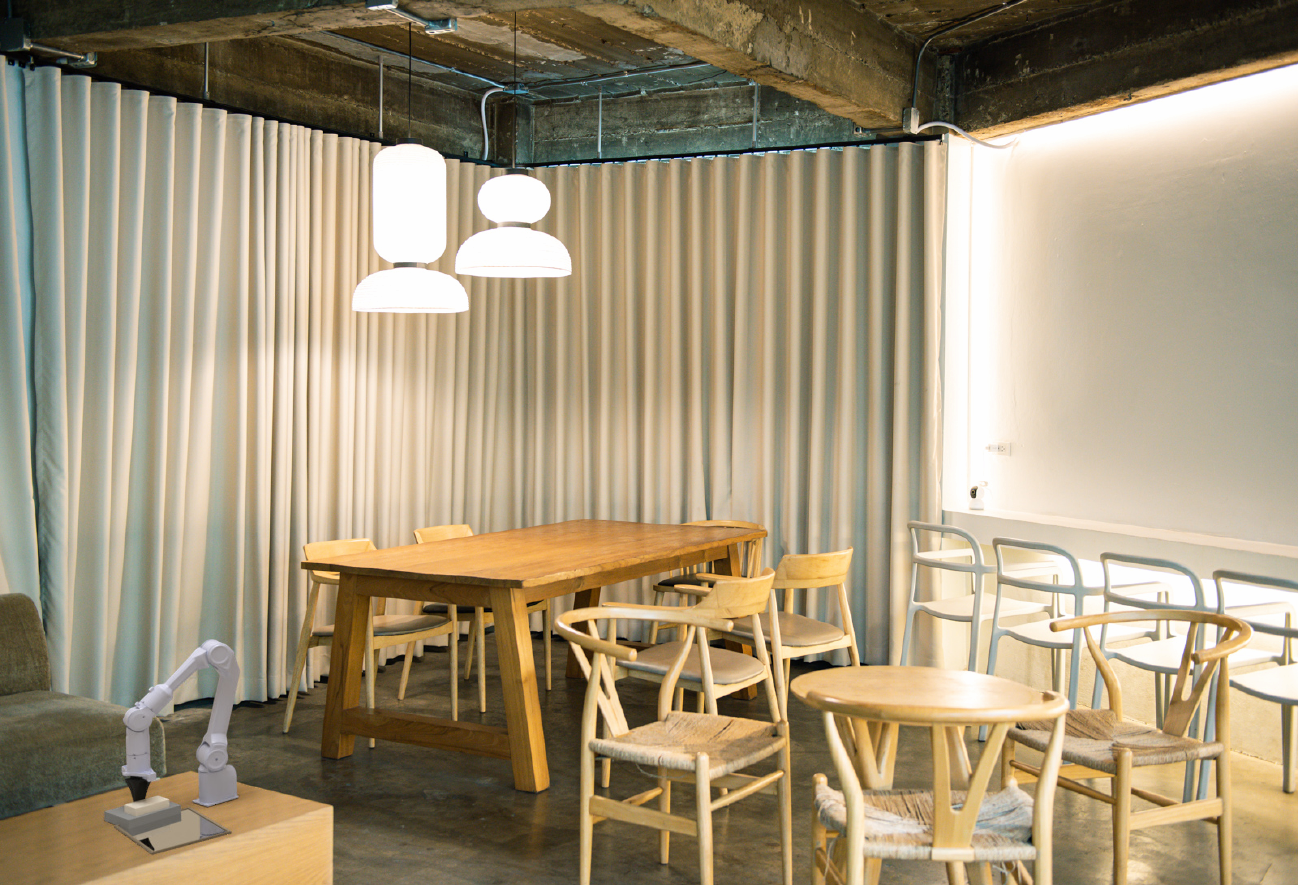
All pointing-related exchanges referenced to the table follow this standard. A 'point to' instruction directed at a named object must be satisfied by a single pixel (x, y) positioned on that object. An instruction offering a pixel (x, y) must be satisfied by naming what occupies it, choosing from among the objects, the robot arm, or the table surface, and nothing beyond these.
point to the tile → (146, 805)
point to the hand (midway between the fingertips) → (139, 803)
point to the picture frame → (174, 831)
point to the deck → (130, 821)
